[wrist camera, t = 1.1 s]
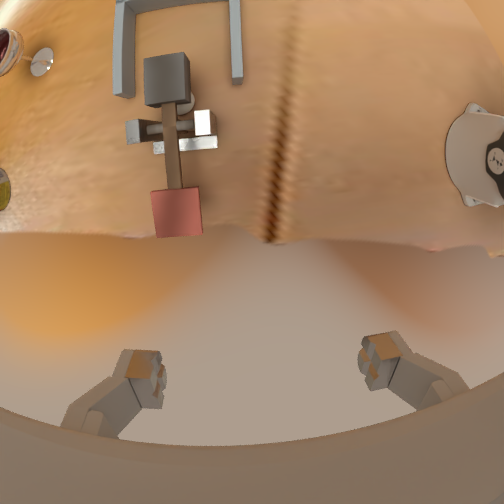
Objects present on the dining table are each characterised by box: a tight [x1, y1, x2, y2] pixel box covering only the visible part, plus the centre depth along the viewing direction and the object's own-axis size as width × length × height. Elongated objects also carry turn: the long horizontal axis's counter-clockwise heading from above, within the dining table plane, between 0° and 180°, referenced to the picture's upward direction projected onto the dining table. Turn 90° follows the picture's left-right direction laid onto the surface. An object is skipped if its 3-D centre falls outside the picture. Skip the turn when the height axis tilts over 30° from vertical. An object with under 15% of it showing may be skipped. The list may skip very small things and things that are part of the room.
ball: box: [177, 93, 195, 115], centre depth 31 cm, size 4×4×4 cm
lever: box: [144, 52, 203, 238], centre depth 30 cm, size 5×19×10 cm, turn 2°
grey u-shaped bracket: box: [113, 0, 243, 99], centre depth 27 cm, size 15×15×5 cm
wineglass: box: [0, 28, 53, 76], centre depth 22 cm, size 7×7×12 cm
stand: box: [125, 110, 218, 154], centre depth 30 cm, size 8×4×10 cm, turn 92°
